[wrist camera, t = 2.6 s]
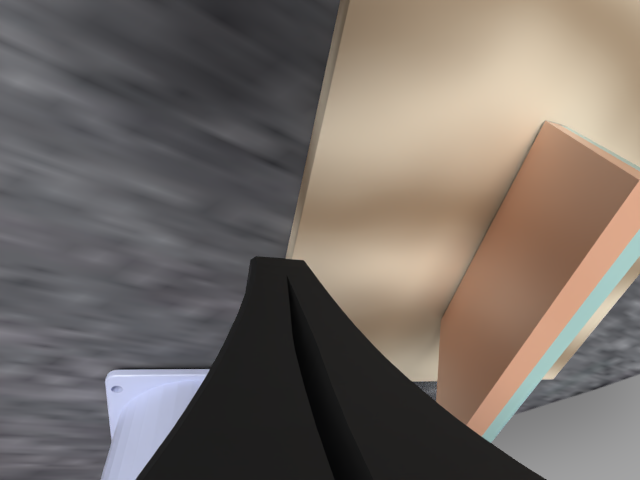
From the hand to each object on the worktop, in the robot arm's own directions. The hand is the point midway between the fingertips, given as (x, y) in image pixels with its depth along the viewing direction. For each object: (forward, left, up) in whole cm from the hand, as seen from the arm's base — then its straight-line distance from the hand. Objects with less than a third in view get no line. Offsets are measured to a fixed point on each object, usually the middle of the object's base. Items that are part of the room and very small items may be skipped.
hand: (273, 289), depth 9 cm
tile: (0, -8, -1) cm, 8 cm away
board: (0, -11, -6) cm, 12 cm away
